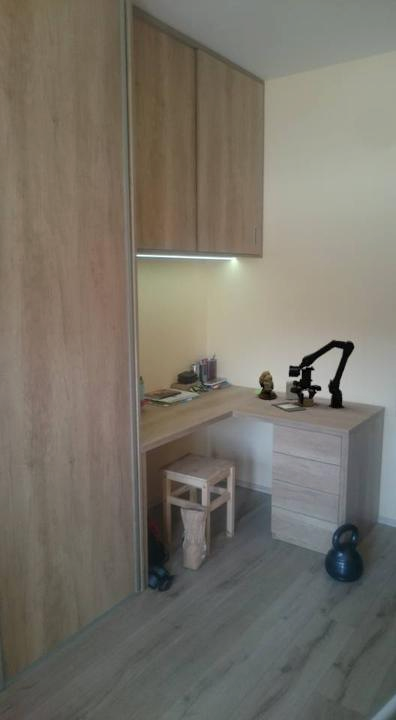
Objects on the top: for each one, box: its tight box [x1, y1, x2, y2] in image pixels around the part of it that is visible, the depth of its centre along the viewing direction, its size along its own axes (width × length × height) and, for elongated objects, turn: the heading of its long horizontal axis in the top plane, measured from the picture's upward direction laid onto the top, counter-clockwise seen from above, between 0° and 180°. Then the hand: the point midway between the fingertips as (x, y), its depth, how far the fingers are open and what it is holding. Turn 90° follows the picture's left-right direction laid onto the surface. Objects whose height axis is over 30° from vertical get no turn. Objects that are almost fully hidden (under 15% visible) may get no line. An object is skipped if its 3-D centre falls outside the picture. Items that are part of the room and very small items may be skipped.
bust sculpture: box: [258, 370, 278, 401], centre depth 329 cm, size 18×12×17 cm, turn 0°
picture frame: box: [271, 401, 307, 413], centre depth 305 cm, size 18×12×1 cm, turn 25°
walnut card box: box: [297, 395, 315, 408], centre depth 310 cm, size 8×6×4 cm
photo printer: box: [285, 378, 301, 400], centre depth 325 cm, size 10×4×12 cm, turn 98°
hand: (305, 403), depth 310 cm, fingers closed on walnut card box, 5 cm apart
